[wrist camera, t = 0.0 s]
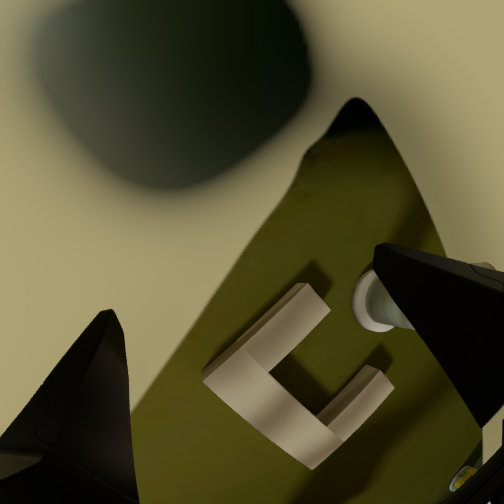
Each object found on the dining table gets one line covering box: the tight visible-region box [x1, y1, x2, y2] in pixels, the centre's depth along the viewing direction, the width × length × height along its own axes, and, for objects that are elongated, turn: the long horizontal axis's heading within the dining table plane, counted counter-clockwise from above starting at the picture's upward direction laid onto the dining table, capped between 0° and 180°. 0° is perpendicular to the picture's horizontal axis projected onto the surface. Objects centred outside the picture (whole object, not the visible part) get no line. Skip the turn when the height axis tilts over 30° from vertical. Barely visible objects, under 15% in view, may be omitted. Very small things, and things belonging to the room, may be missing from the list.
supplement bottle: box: [450, 466, 490, 504], centre depth 23 cm, size 5×5×10 cm
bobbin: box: [351, 262, 495, 332], centre depth 20 cm, size 6×6×13 cm
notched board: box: [201, 283, 394, 470], centre depth 23 cm, size 14×11×2 cm
